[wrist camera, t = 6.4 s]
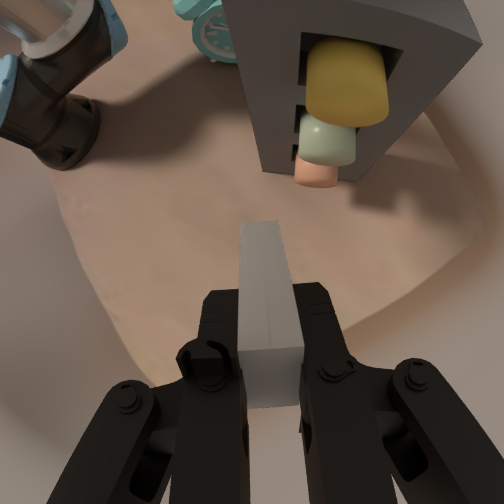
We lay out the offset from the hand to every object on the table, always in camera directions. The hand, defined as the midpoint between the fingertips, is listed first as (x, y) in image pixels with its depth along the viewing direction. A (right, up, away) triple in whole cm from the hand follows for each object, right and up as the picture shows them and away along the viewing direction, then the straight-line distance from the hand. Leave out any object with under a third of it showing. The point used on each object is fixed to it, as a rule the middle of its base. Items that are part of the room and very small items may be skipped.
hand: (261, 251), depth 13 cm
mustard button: (+6, +10, +5) cm, 13 cm away
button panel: (+9, +15, +30) cm, 34 cm away
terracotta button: (+7, +10, +23) cm, 26 cm away
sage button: (+7, +10, +14) cm, 19 cm away
